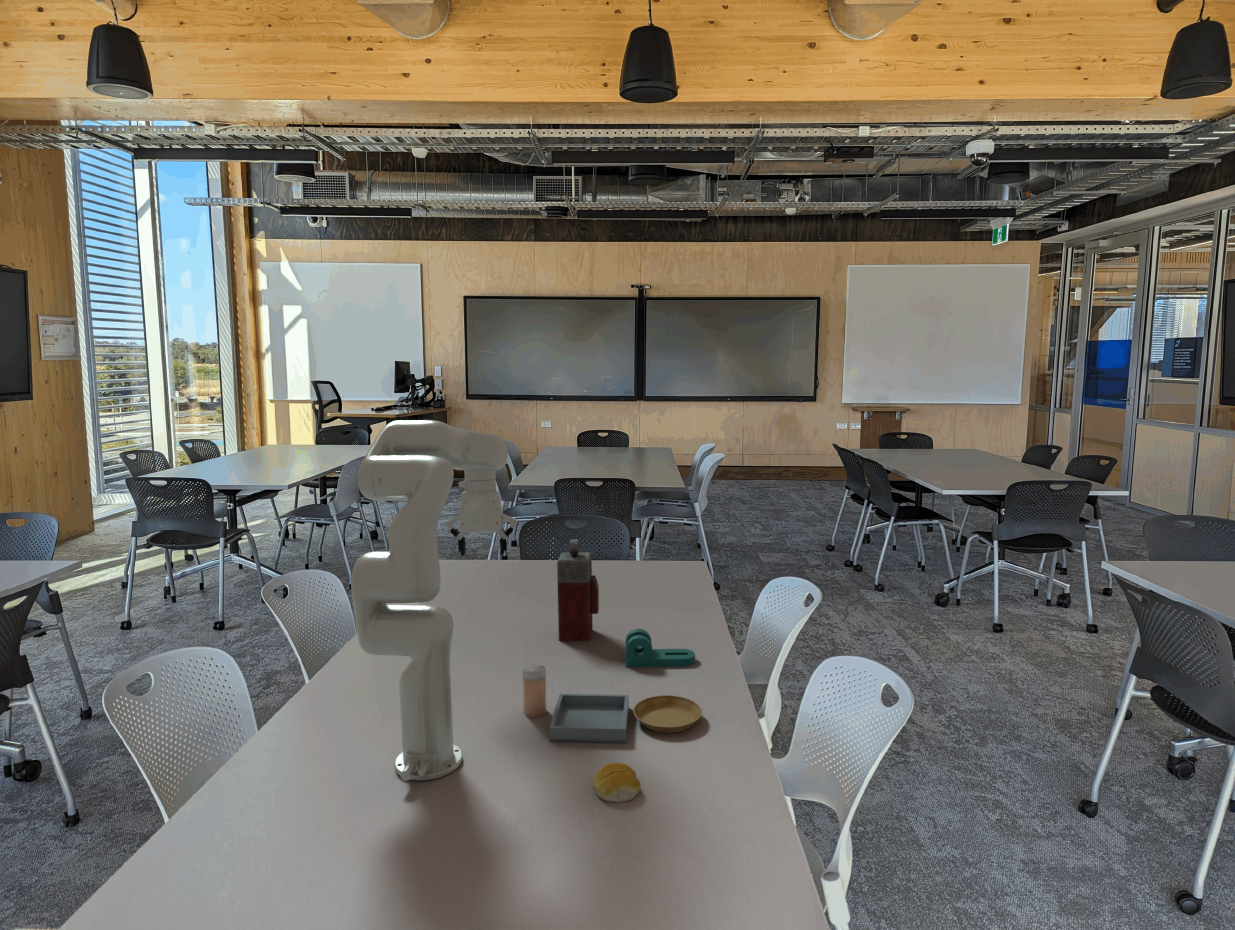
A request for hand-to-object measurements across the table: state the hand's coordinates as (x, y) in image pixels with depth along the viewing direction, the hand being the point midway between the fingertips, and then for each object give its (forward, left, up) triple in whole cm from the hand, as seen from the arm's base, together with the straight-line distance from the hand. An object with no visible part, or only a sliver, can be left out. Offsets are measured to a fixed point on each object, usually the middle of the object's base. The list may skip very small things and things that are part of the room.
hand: (482, 554), depth 180 cm
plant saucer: (-24, -45, -31) cm, 60 cm away
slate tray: (-27, -29, -30) cm, 50 cm away
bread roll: (-51, -36, -31) cm, 69 cm away
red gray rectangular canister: (+25, -21, -31) cm, 45 cm away
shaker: (-22, -16, -30) cm, 41 cm away
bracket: (+7, -44, -31) cm, 54 cm away
